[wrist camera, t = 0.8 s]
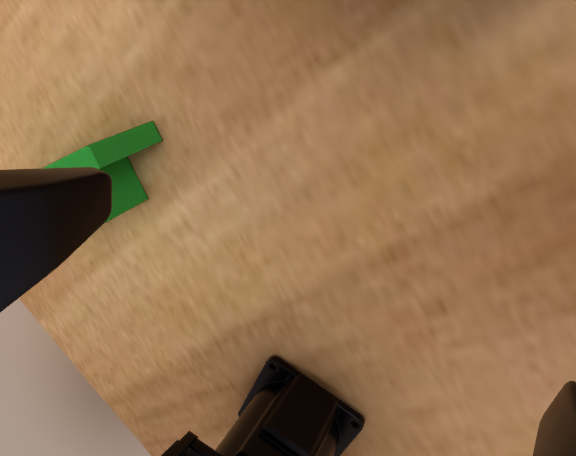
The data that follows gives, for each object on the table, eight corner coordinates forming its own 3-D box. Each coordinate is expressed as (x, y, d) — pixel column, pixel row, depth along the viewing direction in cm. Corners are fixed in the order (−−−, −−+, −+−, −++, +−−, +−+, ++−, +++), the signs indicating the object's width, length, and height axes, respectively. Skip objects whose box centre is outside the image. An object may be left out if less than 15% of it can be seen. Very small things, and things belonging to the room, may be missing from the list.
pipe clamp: (68, 228, 33) (7, 260, 30) (39, 176, 32) (-28, 203, 29) (185, 185, 27) (125, 219, 24) (153, 120, 26) (85, 145, 23)
